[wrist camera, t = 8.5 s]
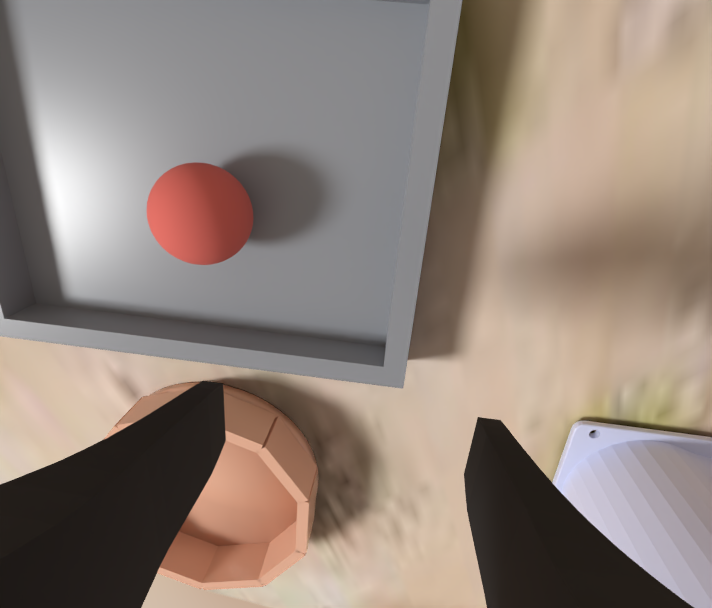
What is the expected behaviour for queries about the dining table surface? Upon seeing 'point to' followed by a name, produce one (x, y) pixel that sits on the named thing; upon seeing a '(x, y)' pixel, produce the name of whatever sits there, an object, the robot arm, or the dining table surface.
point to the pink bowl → (243, 497)
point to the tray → (238, 157)
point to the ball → (199, 213)
